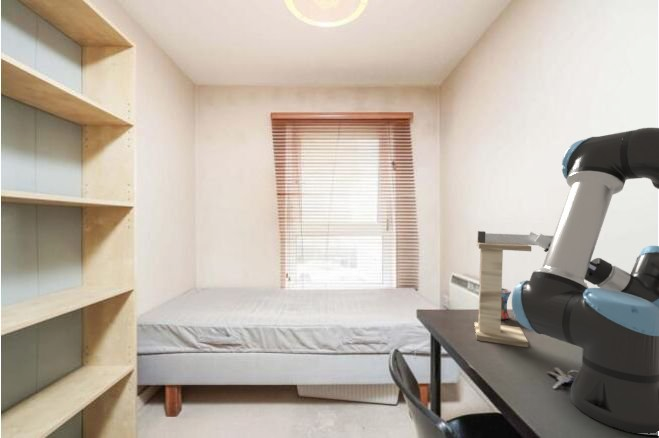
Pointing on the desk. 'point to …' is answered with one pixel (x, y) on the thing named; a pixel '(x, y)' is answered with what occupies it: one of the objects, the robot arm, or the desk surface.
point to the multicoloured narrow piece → (504, 303)
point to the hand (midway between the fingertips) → (532, 236)
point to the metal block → (508, 238)
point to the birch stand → (495, 297)
